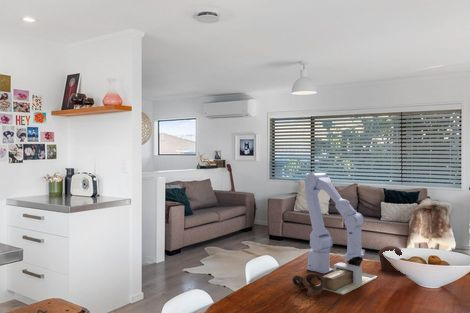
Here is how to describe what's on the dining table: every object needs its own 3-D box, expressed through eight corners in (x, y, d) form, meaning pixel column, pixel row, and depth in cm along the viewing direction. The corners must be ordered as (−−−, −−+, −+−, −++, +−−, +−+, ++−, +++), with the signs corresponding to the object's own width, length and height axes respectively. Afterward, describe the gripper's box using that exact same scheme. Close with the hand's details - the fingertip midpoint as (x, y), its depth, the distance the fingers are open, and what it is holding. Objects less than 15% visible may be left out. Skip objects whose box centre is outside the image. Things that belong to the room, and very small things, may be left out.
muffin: (375, 270, 178) (375, 248, 177) (381, 264, 187) (380, 243, 187) (404, 274, 171) (403, 251, 171) (407, 267, 181) (407, 246, 181)
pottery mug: (321, 289, 155) (326, 274, 150) (319, 307, 146) (324, 292, 142) (291, 279, 157) (295, 264, 153) (287, 297, 149) (292, 282, 145)
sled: (322, 287, 152) (322, 276, 152) (347, 276, 165) (347, 266, 165) (333, 290, 148) (333, 278, 148) (357, 279, 162) (357, 268, 162)
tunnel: (316, 287, 155) (316, 270, 155) (351, 271, 175) (351, 256, 175) (343, 294, 147) (343, 276, 147) (377, 277, 167) (377, 261, 167)
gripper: (354, 246, 157) (354, 280, 157) (371, 241, 167) (371, 272, 167) (338, 244, 162) (339, 276, 162) (356, 238, 172) (356, 269, 172)
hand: (354, 274), depth 165 cm, fingers closed
